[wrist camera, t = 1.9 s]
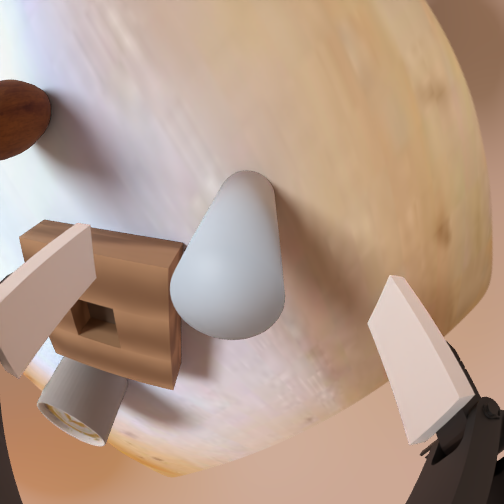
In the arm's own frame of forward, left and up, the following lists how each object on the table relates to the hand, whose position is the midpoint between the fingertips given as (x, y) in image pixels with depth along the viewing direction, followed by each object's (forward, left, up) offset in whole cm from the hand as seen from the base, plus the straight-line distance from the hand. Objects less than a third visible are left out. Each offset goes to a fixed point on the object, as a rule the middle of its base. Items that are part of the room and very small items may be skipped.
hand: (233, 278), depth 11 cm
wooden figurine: (-6, -20, -10) cm, 24 cm away
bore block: (+12, -12, -10) cm, 20 cm away
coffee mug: (+27, -19, -10) cm, 34 cm away
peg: (0, 0, -10) cm, 10 cm away
